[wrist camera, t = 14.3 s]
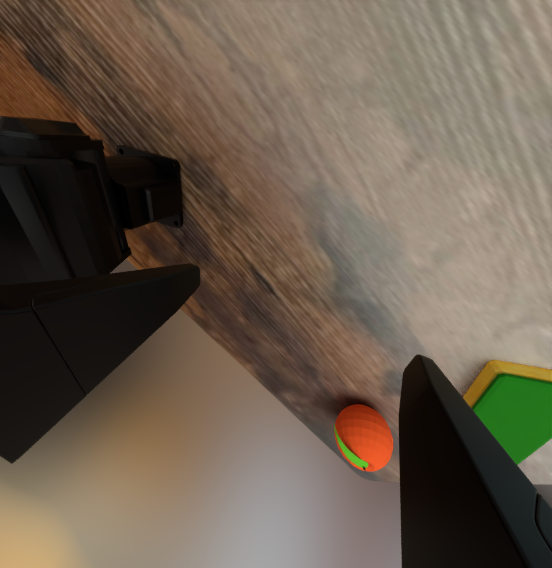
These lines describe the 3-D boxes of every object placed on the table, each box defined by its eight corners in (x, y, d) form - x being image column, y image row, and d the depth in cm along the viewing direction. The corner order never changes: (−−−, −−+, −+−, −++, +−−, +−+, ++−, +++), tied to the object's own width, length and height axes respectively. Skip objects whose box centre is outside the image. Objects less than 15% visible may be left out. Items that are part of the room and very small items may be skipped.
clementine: (320, 400, 32) (313, 455, 26) (352, 381, 28) (354, 441, 22) (362, 428, 32) (365, 488, 27) (400, 414, 29) (414, 481, 23)
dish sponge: (582, 372, 20) (608, 396, 18) (503, 444, 27) (516, 467, 25) (487, 355, 21) (501, 376, 19) (437, 427, 28) (444, 447, 26)
